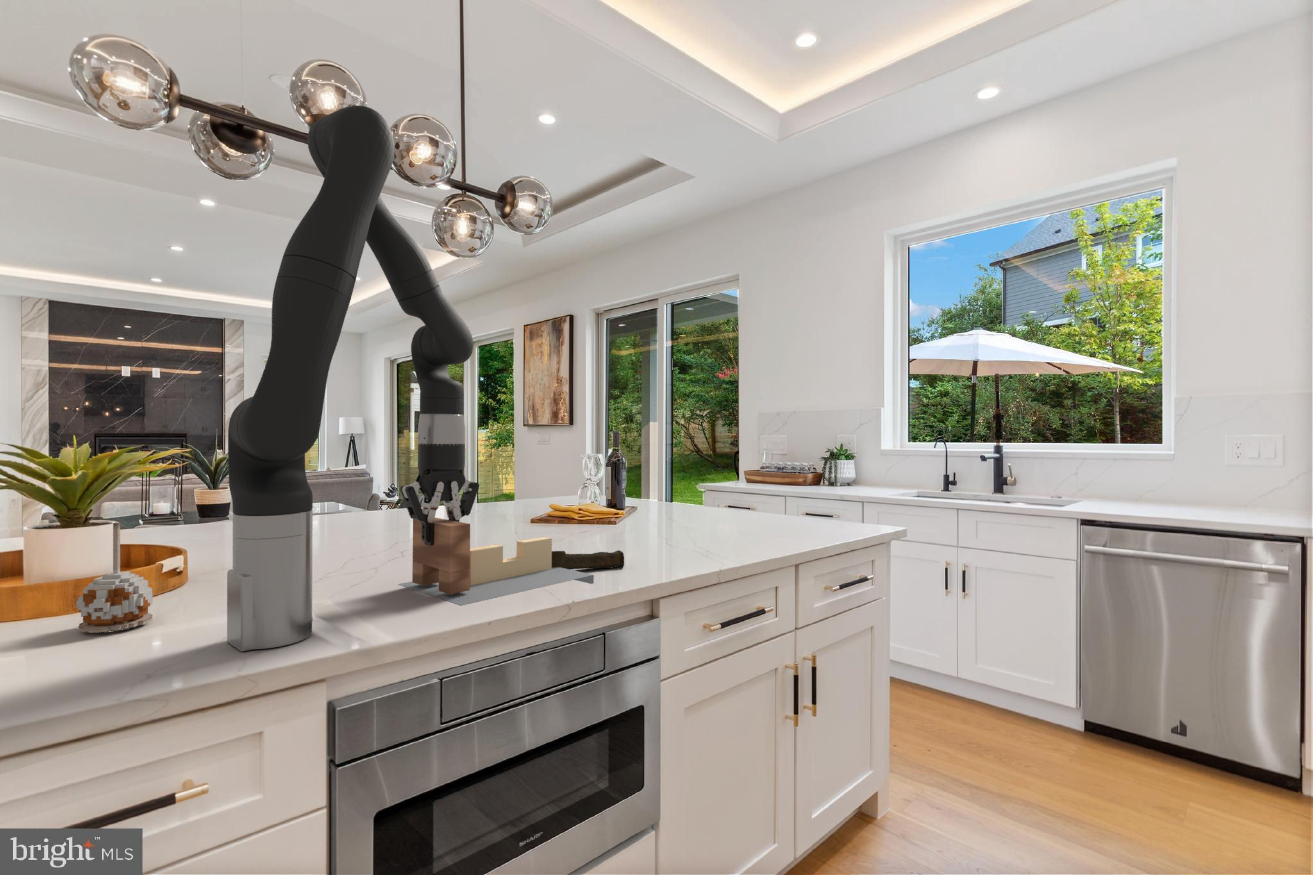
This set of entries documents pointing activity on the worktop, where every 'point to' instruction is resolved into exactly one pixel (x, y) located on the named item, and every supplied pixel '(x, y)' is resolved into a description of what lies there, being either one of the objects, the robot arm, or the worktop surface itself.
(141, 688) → the worktop surface
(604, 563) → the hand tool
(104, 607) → the decorative ornament
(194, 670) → the worktop surface
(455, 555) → the mahogany slotted plate
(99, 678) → the worktop surface
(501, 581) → the slotted plate stand
